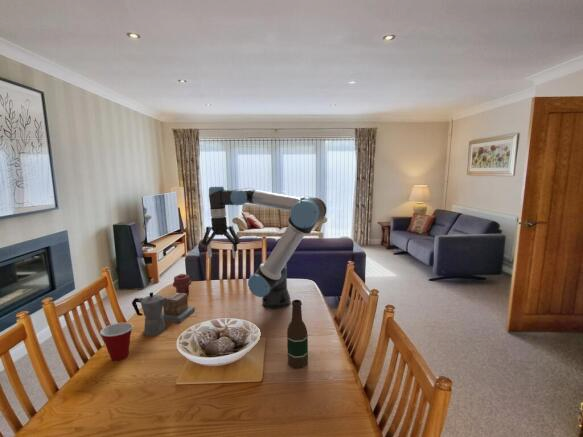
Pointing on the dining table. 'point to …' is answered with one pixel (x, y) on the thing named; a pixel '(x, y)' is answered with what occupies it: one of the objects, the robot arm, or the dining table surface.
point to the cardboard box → (175, 304)
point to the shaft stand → (181, 316)
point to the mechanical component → (182, 283)
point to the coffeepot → (151, 313)
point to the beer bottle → (297, 338)
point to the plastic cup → (117, 340)
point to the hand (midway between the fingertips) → (222, 257)
